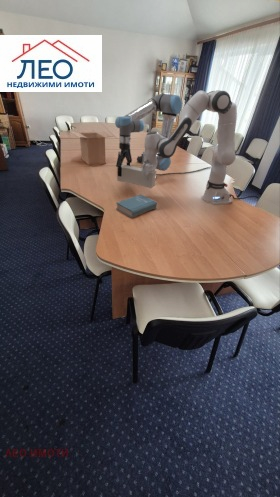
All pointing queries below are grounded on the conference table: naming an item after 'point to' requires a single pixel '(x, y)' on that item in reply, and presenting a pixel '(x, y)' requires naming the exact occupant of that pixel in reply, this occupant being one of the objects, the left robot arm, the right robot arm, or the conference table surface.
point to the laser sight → (139, 159)
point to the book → (136, 205)
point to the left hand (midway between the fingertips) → (124, 173)
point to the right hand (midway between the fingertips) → (148, 178)
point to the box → (92, 146)
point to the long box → (136, 176)
